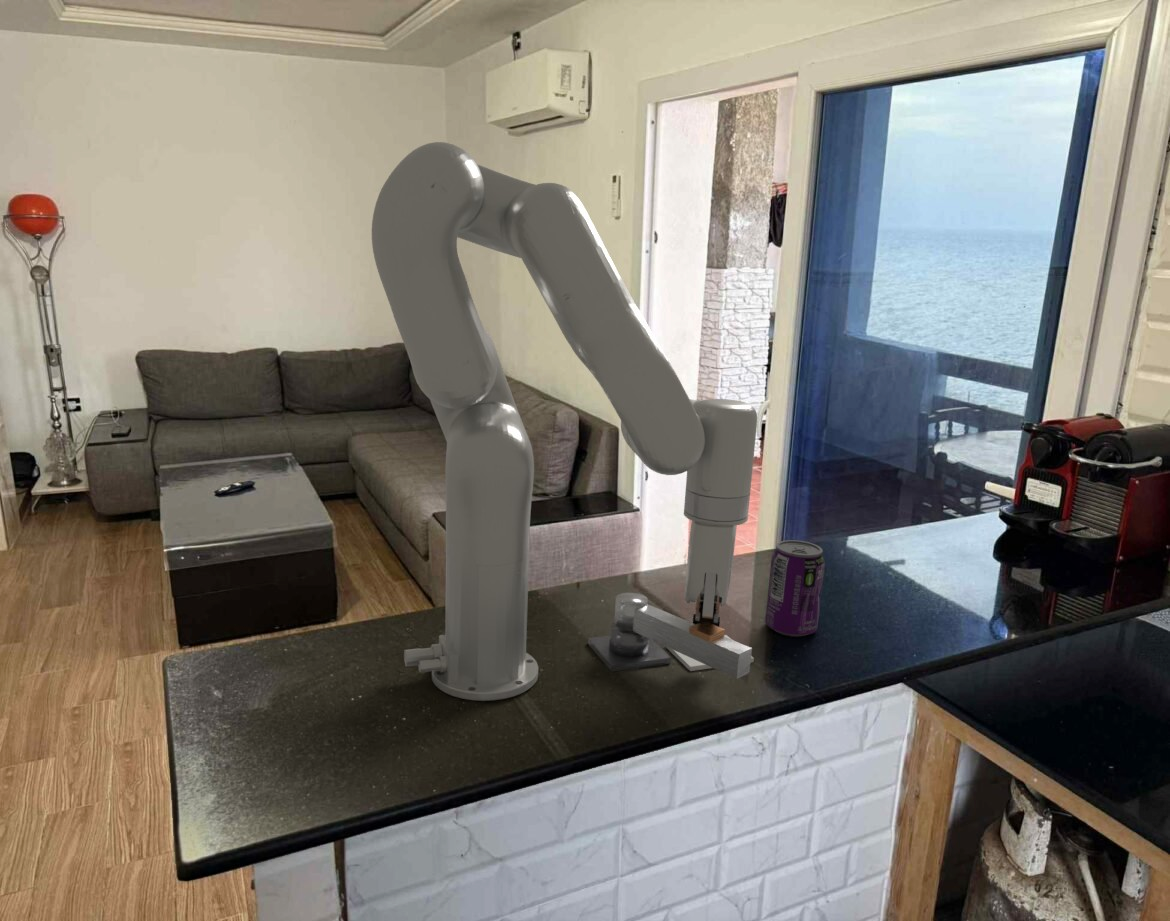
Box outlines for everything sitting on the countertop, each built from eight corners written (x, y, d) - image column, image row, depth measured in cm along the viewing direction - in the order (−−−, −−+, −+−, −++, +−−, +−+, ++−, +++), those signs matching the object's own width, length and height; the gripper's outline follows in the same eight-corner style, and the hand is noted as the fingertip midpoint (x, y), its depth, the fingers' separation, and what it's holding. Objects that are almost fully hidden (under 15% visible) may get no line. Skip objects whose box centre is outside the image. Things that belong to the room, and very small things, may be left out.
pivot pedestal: (611, 671, 105) (612, 645, 105) (588, 643, 113) (589, 618, 112) (670, 663, 108) (672, 637, 107) (643, 636, 115) (645, 612, 115)
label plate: (690, 671, 106) (690, 665, 106) (665, 646, 113) (665, 641, 113) (753, 662, 110) (754, 656, 109) (725, 639, 116) (726, 633, 116)
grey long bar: (607, 623, 109) (609, 595, 109) (629, 615, 112) (631, 588, 111) (732, 681, 96) (735, 649, 95) (753, 670, 99) (756, 639, 98)
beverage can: (818, 643, 116) (828, 558, 113) (764, 636, 117) (772, 553, 115) (815, 622, 123) (824, 542, 120) (764, 616, 124) (772, 536, 121)
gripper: (686, 486, 109) (676, 620, 114) (681, 520, 95) (669, 672, 99) (746, 491, 108) (733, 626, 113) (750, 526, 94) (735, 680, 98)
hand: (703, 647), depth 106 cm, fingers closed
